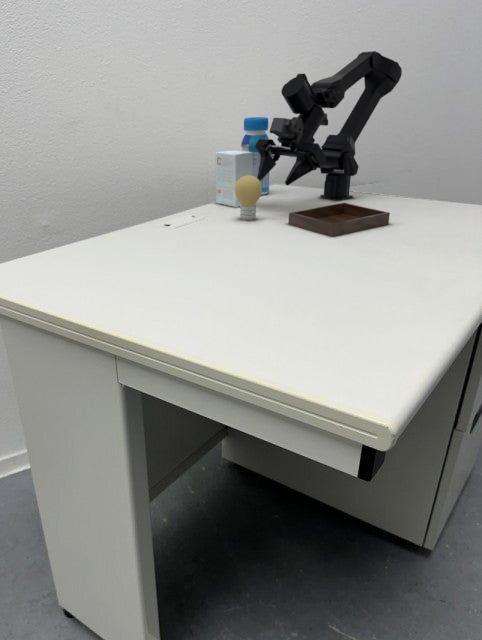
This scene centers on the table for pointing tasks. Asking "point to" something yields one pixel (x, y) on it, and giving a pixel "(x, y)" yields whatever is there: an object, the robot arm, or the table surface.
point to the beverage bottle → (254, 132)
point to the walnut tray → (338, 219)
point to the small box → (231, 174)
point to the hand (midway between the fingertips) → (271, 181)
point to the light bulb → (248, 195)
